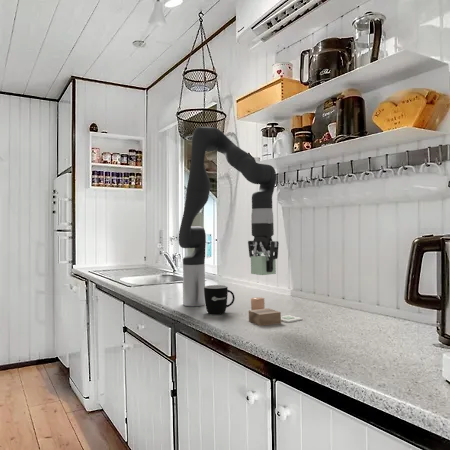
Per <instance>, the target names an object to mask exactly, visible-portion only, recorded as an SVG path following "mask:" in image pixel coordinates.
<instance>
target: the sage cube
mask: <svg viewBox="0 0 450 450" xmlns="http://www.w3.org/2000/svg"><path fill="white" fill-rule="evenodd" d="M269 257H270V255H269ZM276 260H277V259H274V260H273V271H272V272H267V271H266V261H267V260H266V257H265V255H264V254H263V255H261V256H251V258H250V274H251V275H258V276H266V275H267V276H268V275H277V274H276V273H277V272H276V271H277V268H276V264H277V263H276Z"/></svg>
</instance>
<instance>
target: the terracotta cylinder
mask: <svg viewBox="0 0 450 450" xmlns="http://www.w3.org/2000/svg"><path fill="white" fill-rule="evenodd" d="M265 305H266V304H265V298H264V297H252V298H250V310H258V309H266V307H265Z"/></svg>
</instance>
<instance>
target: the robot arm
mask: <svg viewBox="0 0 450 450" xmlns="http://www.w3.org/2000/svg"><path fill="white" fill-rule="evenodd" d="M206 152H219V153H221V154H223V155H224V156H225V159H226V161H227V163H228V164H229V165H230V166H231V167H232V168H234V169H235V170H237V171H238V172H239V173H241V175H242V176H243V177H244V178H245V179H246V180H247V181H248V182H249V183H251V184H254V185H259V188H258V191H255V192H253V193H252V195H251V220H250V222H251V236H252V237H253V240H247V247H248V254H249V255H248V256H249V258H250V259H251V256H262V255H263V256H264V255H265V257H266V260H267V261H266V271H267V272H272V271H273V260H274V259H276V260H277V259H278V257H279V241H276V240H273V239H272V237H273V236H274V235H275V234H274V233H275V232H274V231H275V229H274V211H273V195H274V191H275V185H276V182H277V172H276V170H275V167H273V166H272V165H271V164H266V163H259V162H257V161H256V158H255V157H254V156H252V155H251V154H250V153H248V152H247V151H245V150H244V149H242V148H240V147H239V146H238V145H236V144H235V143H234V142H233V141H232V140H231V139H230V138H229V137H227V135H226V134H225V133H223V131H222V130H220V129H219V128H217V127H213V126H198V127H196V128H195V129H194V131H193V133H192V139H191V152H190V153H191V154H190V165H189V166H190V167H189V175H188V180H187V186H186V192H185V202H184V209H183V213H182V218H181V223H180V226H179V232H178V244H179V246H180V248H182V249H194V251H193V252H192V253H190V254H189V255H187V256H184V257H183V259H182V274H183V275H182V278H183V280H182V304H183V306H184V307H202V306H206V305H205V296H204V287H205V286H206V277H205V276H206V268H205V267H206V266H205V263H206V262H205V259H206V244H207V243H206V242H207V241H206V240H207V238H206V237H207V236H206V235H207V233H206V230H205V228H204V227H203V226H199V225H197V226H196V225H195V226H193V222H194V220H195V218H196V216H197V215H198V214H199V213H200V212H201V211H202V209H203V208H204V207H205V205H206V204H207V203H208V201H209V196H210V192H211V191H210V190H211V180H210V176H209V174H208V173H207V170H206V166H205V157H206ZM269 256H270V257H269Z"/></svg>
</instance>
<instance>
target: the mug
mask: <svg viewBox="0 0 450 450" xmlns="http://www.w3.org/2000/svg"><path fill="white" fill-rule="evenodd" d="M228 287H229V286H228V285H224V284H223V285H222V284H212V285H211V284H209V285H205V287H204V296H205V305H204V306H205V310H206V311H207V312H206V313H207V314H209V315H213V316H217V315H218V316H219V315H223V314H226V310H227V308H229V307H230V306H232V305H233V304H234V302H235V299H236V298H235V294H234V292H233V291H232V290H230V289H229V288H228ZM228 293H230V294H231V296H232V299H231V302H230V303H228Z"/></svg>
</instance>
